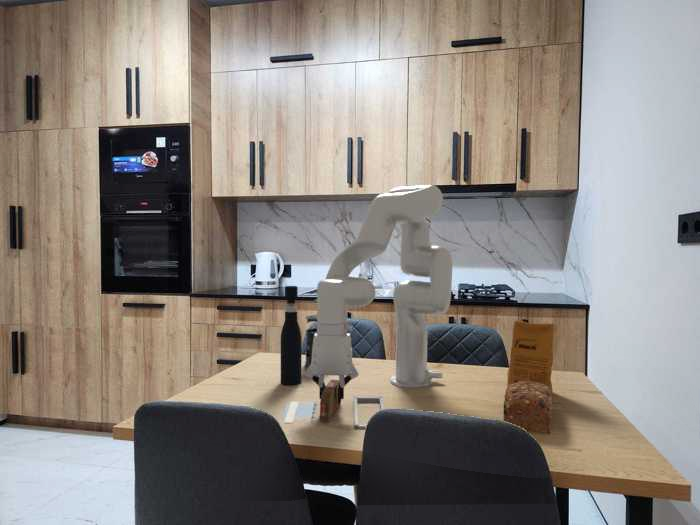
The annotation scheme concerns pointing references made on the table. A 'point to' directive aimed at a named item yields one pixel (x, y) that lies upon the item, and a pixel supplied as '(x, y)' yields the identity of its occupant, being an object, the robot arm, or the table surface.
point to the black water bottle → (291, 342)
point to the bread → (529, 406)
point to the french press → (310, 338)
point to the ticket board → (298, 411)
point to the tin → (329, 400)
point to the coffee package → (531, 353)
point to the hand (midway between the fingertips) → (331, 400)
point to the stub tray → (365, 399)
